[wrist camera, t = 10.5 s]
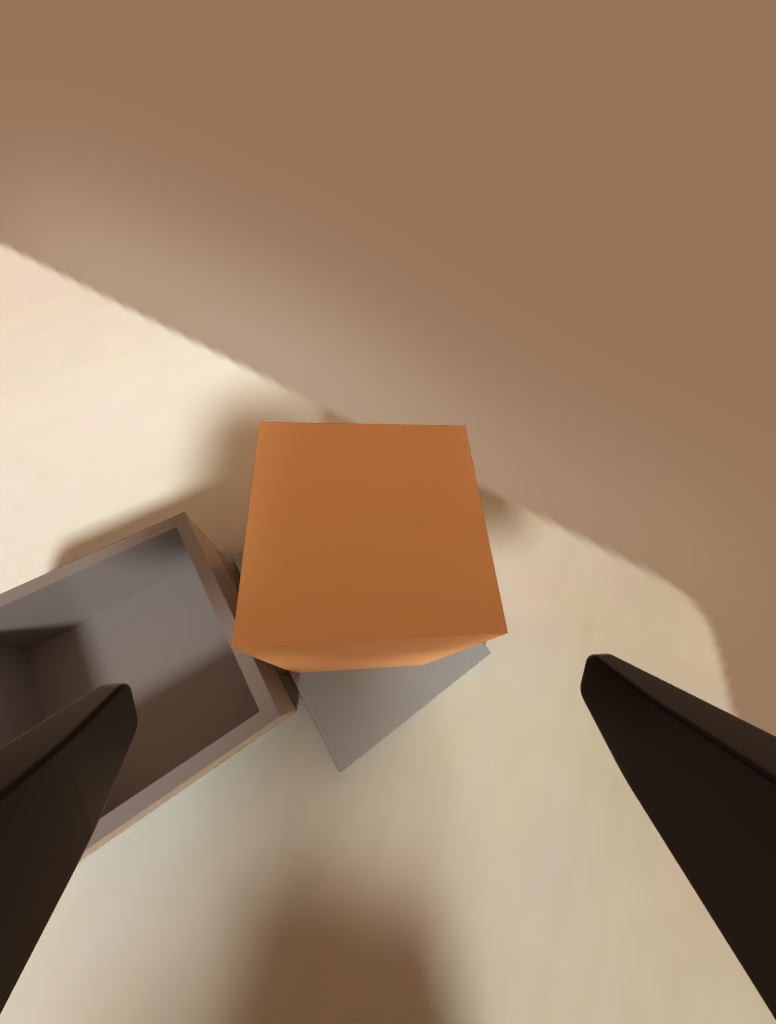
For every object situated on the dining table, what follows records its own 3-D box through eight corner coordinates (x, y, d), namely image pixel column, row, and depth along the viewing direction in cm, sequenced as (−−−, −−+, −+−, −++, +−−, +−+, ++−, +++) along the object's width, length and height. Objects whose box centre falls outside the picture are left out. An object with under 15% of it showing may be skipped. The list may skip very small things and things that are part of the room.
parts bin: (296, 710, 16) (280, 716, 12) (73, 865, 13) (-45, 939, 9) (218, 550, 19) (184, 512, 15) (21, 647, 16) (-85, 632, 12)
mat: (486, 654, 18) (490, 652, 18) (339, 769, 15) (339, 772, 15) (370, 491, 22) (371, 486, 21) (234, 560, 19) (231, 556, 18)
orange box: (423, 664, 17) (507, 633, 8) (294, 673, 16) (231, 648, 7) (411, 543, 20) (464, 420, 11) (300, 545, 19) (260, 416, 10)
